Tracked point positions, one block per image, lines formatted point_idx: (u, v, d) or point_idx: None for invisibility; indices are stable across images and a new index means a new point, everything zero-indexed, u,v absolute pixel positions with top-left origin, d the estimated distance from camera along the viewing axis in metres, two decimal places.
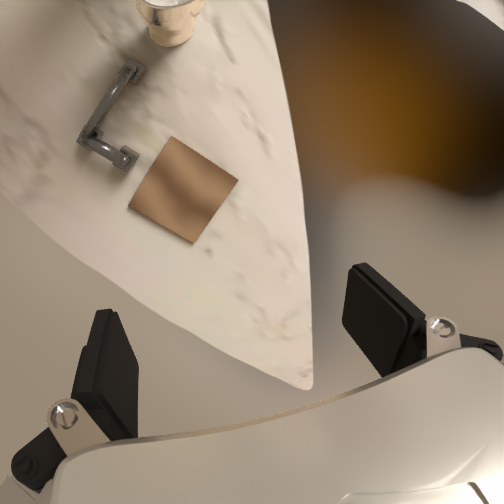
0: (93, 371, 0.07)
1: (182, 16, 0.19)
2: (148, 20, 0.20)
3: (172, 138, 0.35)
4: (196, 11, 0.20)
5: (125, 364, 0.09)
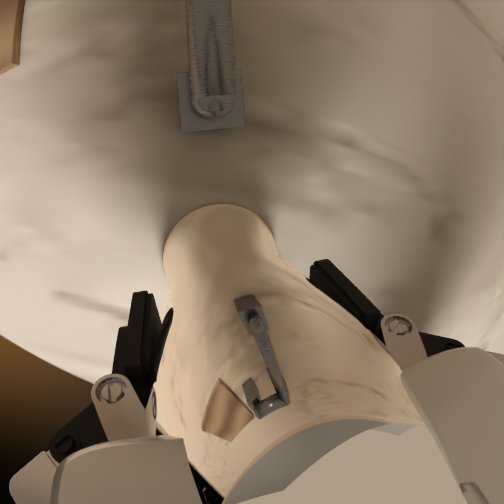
0: (138, 346, 0.08)
1: None
2: (293, 371, 0.04)
3: (7, 61, 0.07)
4: None
5: None
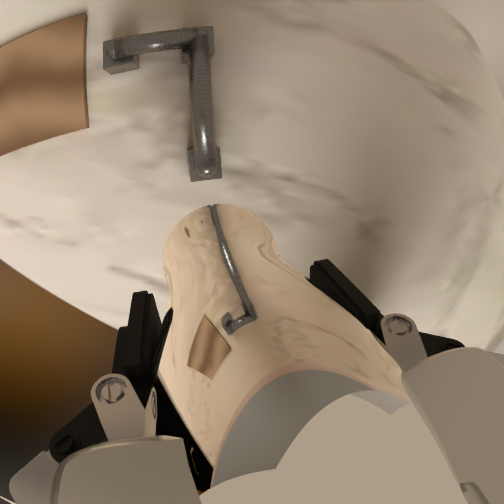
0: (138, 346, 0.08)
1: None
2: (293, 371, 0.04)
3: (82, 126, 0.19)
4: None
5: None
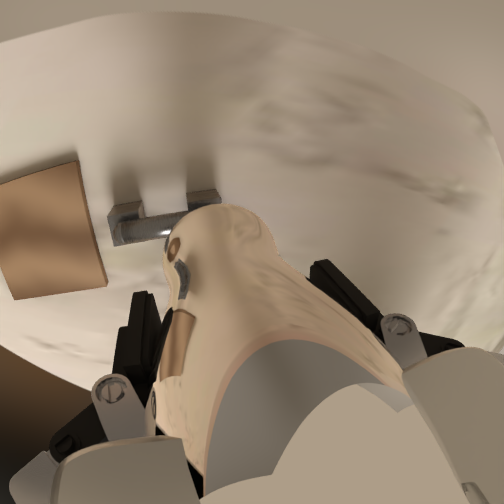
0: (138, 346, 0.08)
1: None
2: (294, 370, 0.04)
3: (103, 285, 0.23)
4: None
5: None
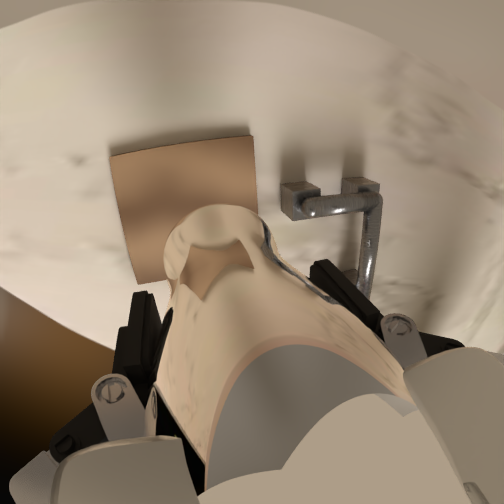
0: (138, 346, 0.08)
1: None
2: (295, 370, 0.04)
3: None
4: None
5: None
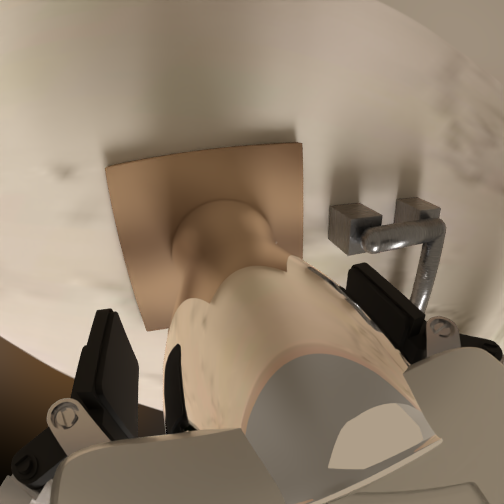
0: (93, 371, 0.07)
1: None
2: (286, 314, 0.06)
3: None
4: None
5: (125, 364, 0.09)
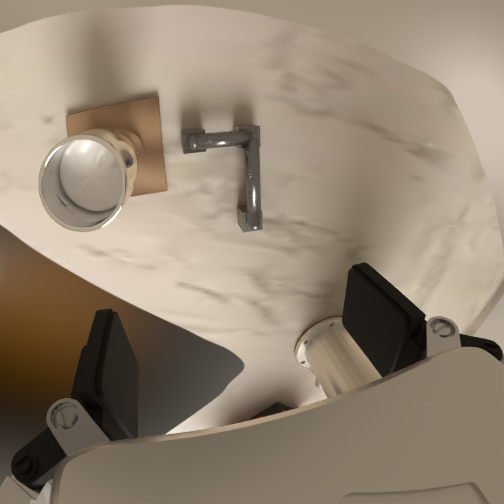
0: (93, 371, 0.07)
1: None
2: None
3: (164, 189, 0.32)
4: (53, 180, 0.18)
5: (125, 364, 0.09)
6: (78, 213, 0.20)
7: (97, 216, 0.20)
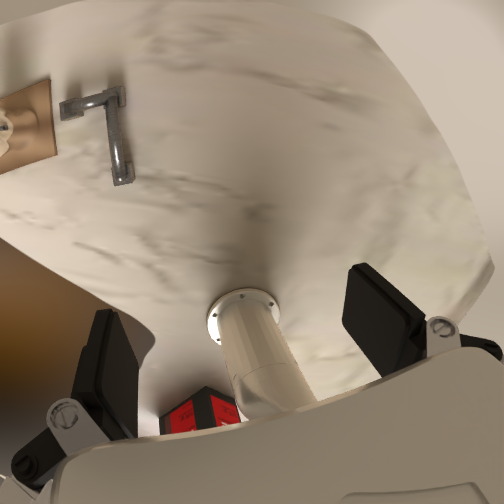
0: (93, 371, 0.07)
1: None
2: None
3: (53, 154, 0.30)
4: None
5: (125, 364, 0.09)
6: None
7: None
